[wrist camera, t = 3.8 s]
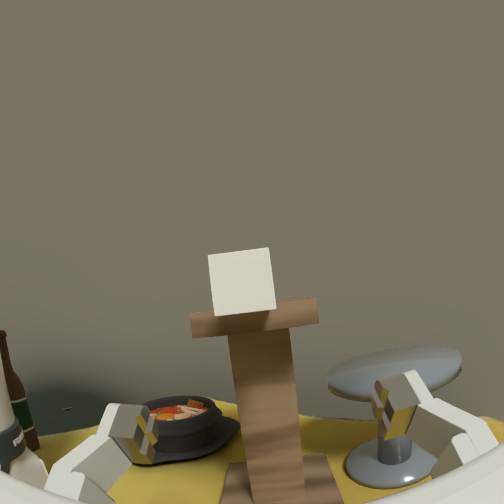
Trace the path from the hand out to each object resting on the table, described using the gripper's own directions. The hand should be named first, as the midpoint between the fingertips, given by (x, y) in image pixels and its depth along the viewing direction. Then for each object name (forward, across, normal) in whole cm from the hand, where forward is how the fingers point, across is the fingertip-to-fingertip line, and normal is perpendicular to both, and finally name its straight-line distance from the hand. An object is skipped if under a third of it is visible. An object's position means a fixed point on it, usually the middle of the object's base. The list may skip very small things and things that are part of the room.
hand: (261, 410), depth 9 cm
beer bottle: (+14, -50, -35) cm, 62 cm away
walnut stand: (+8, 0, -31) cm, 32 cm away
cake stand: (+11, +16, -33) cm, 38 cm away
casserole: (+24, -18, -40) cm, 50 cm away
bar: (+16, 0, -6) cm, 17 cm away
